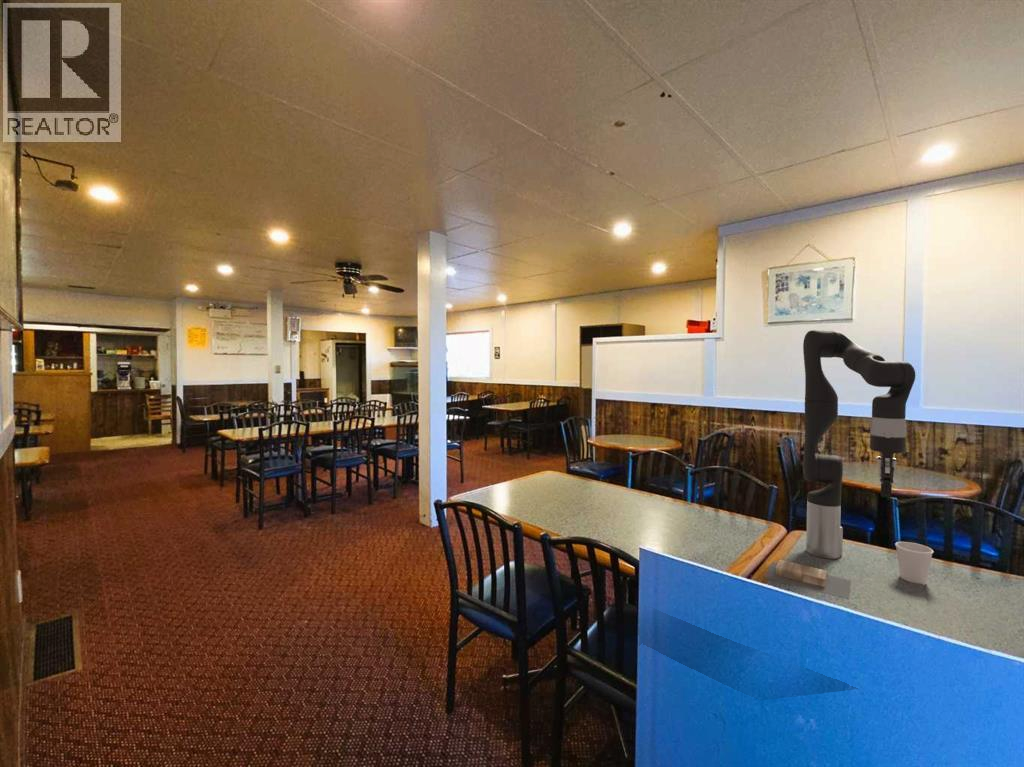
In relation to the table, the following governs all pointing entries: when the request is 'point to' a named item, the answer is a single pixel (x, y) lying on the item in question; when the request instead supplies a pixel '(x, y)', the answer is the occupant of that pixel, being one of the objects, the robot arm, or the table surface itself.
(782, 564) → the maple block
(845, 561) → the table surface
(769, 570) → the rubber mat
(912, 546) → the dixie cup
